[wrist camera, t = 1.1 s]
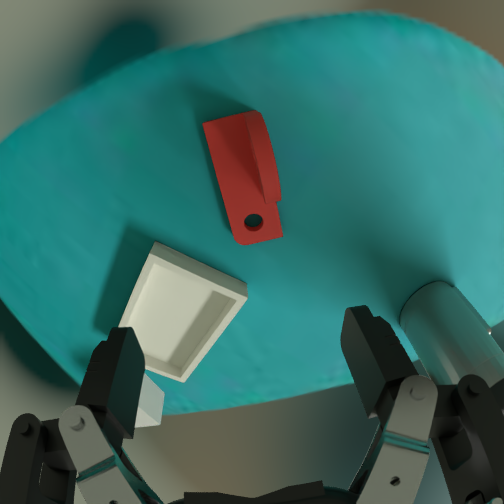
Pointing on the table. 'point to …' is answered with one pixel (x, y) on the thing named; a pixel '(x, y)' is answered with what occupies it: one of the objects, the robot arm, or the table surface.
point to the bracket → (246, 174)
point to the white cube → (149, 404)
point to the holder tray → (180, 310)
